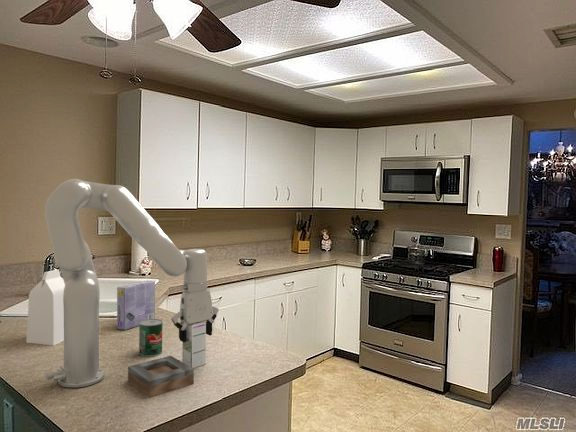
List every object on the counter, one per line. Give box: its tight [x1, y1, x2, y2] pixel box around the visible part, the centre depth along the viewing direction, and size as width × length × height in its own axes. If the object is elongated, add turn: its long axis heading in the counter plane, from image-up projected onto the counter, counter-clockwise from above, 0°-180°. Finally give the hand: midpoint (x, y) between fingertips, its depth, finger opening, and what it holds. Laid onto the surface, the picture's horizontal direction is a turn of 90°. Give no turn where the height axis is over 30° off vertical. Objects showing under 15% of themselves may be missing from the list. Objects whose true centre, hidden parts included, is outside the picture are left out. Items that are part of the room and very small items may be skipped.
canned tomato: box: [138, 318, 163, 358], centre depth 156 cm, size 8×8×11 cm
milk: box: [26, 269, 65, 346], centre depth 167 cm, size 12×12×26 cm
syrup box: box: [182, 321, 207, 369], centre depth 146 cm, size 6×6×14 cm
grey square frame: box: [127, 355, 195, 398], centre depth 132 cm, size 14×14×4 cm
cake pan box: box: [116, 280, 156, 331], centre depth 189 cm, size 19×5×18 cm, turn 155°
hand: (196, 337), depth 146 cm, fingers open, 9 cm apart
